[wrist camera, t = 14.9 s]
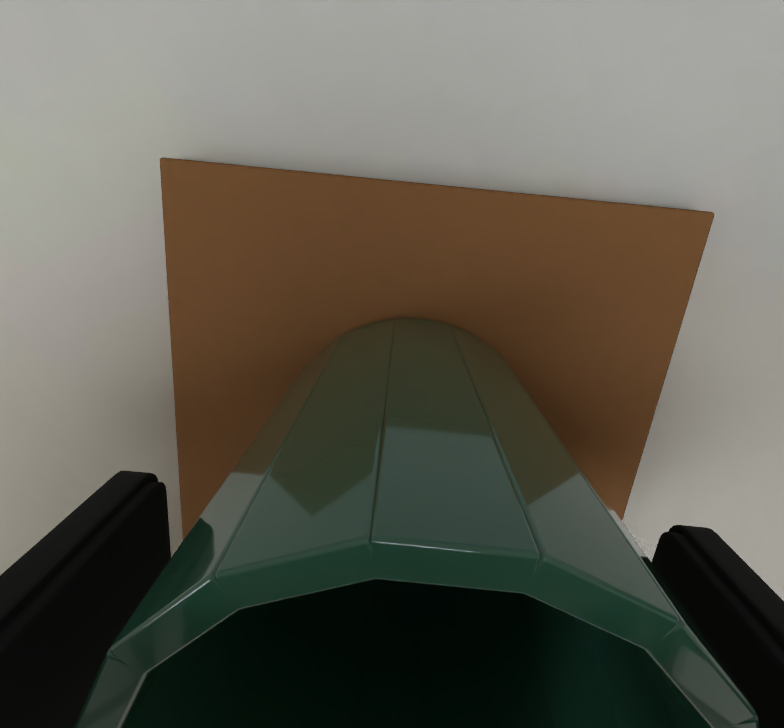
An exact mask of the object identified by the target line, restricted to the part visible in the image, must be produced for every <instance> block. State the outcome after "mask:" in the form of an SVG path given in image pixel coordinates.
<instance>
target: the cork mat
mask: <svg viewBox="0 0 784 728" xmlns="http://www.w3.org/2000/svg"><path fill="white" fill-rule="evenodd" d="M160 170H161V186H162V202H163V219H164V235H165V252H166V268H167V284H168V301H169V317H170V333H171V350H172V366H173V382H174V399H175V415H176V432H177V448H178V464H179V481H180V497H181V513H182V530H183V540H184V539H185V538H186V536H187V535H188V533H189V532H190V530H191V529H192V527H193V526H194V524H195V523H196V522H197V520H198V519H199V517H200V516H201V514H202V513H203V511H204V510H205V509H206V507H207V506H208V504H209V503H210V501H211V500H212V498H213V497H214V496H215V494H216V493H217V491H218V490H219V488H220V487H221V485H222V484H223V483H224V481H225V480H226V478H227V477H228V475H229V474H230V472H231V471H232V469H233V468H234V467H235V465H236V464H237V462H238V461H239V459H240V458H241V456H242V455H243V454H244V452H245V451H246V449H247V448H248V446H249V445H250V443H251V442H252V441H253V439H254V438H255V436H256V435H257V433H258V432H259V430H260V429H261V428H262V426H263V425H264V423H265V422H266V420H267V419H268V417H269V416H270V415H271V413H272V412H273V410H274V409H275V407H276V406H277V404H278V403H279V401H280V400H281V399H282V397H283V396H284V394H285V393H286V391H287V390H288V388H289V387H290V386H291V384H292V383H293V381H294V380H295V378H296V377H297V375H298V374H299V373H300V371H301V370H302V369H303V367H304V366H306V365H307V364H308V363H309V362H310V361H311V360H312V359H313V358H314V357H315V356H316V355H317V354H318V353H319V352H320V351H321V350H322V349H323V348H324V347H325V346H327V345H328V344H330V343H331V342H332V341H334V340H335V339H337V338H338V337H340V336H341V335H343V334H345V333H347V332H349V331H351V330H353V329H355V328H358V327H361V326H363V325H366V324H369V323H373V322H377V321H381V320H386V319H395V318H423V319H429V320H435V321H440V322H444V323H447V324H450V325H454V326H457V327H459V328H461V329H463V330H465V331H468V332H470V333H472V334H473V335H475V336H477V337H478V338H480V339H481V340H483V341H485V342H486V343H487V344H489V345H490V346H491V347H492V348H493V349H495V350H497V352H499V353H500V354H501V355H502V357H503V358H504V359H505V361H506V362H507V363H508V364H509V365H510V366H511V368H512V369H513V371H514V372H515V373H516V375H517V376H518V377H519V378H520V380H521V381H522V382H523V383H524V385H525V386H526V387H527V389H528V390H529V391H530V393H531V394H532V395H533V397H534V398H535V400H536V401H537V403H538V404H539V405H540V407H541V408H542V410H543V411H544V412H545V414H546V415H547V417H548V418H549V419H550V421H551V422H552V424H553V425H554V426H555V428H556V429H557V431H558V432H559V433H560V435H561V436H562V438H563V439H564V441H565V442H566V443H567V445H568V446H569V448H570V449H571V450H572V452H573V453H574V455H575V456H576V457H577V459H578V460H579V462H580V463H581V464H582V466H583V467H584V469H585V470H586V472H587V473H588V474H589V476H590V477H591V479H592V480H593V481H594V483H595V484H596V486H597V487H598V488H599V490H600V491H601V493H602V494H603V495H604V497H605V498H606V500H607V501H608V502H609V504H610V505H611V507H612V508H613V510H614V511H615V512H616V514H617V515H618V517H619V518H620V519H621V521H622V519H623V516H624V512H625V509H626V506H627V503H628V499H629V496H630V493H631V489H632V486H633V483H634V479H635V476H636V473H637V469H638V466H639V463H640V459H641V456H642V453H643V449H644V446H645V443H646V440H647V436H648V433H649V430H650V426H651V423H652V420H653V416H654V413H655V410H656V406H657V403H658V400H659V396H660V393H661V390H662V387H663V383H664V380H665V377H666V373H667V370H668V367H669V363H670V360H671V357H672V353H673V350H674V347H675V343H676V340H677V337H678V334H679V330H680V327H681V324H682V320H683V317H684V314H685V310H686V307H687V304H688V300H689V297H690V294H691V290H692V287H693V284H694V280H695V277H696V274H697V271H698V267H699V264H700V261H701V257H702V254H703V251H704V247H705V244H706V241H707V237H708V234H709V231H710V227H711V224H712V221H713V218H714V213H712V212H705V211H695V210H685V209H675V208H665V207H655V206H645V205H635V204H625V203H615V202H605V201H595V200H585V199H574V198H564V197H554V196H544V195H534V194H524V193H514V192H504V191H494V190H484V189H474V188H464V187H454V186H444V185H433V184H423V183H413V182H403V181H393V180H383V179H373V178H363V177H353V176H343V175H333V174H323V173H313V172H303V171H293V170H282V169H272V168H262V167H252V166H242V165H232V164H222V163H212V162H202V161H192V160H182V159H172V158H160Z"/></svg>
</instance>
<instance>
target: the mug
mask: <svg viewBox="0 0 784 728" xmlns="http://www.w3.org/2000/svg"><path fill="white" fill-rule="evenodd" d="M74 728H759V719H758V716H757V714H756V712H755V708H754V707H753V705H752V704H751V702H750V701H749V700H748V698H747V697H746V695H745V694H744V693H743V691H742V690H741V688H740V687H739V686H738V684H737V683H736V681H735V680H734V679H733V677H732V676H731V674H730V673H729V671H728V670H727V669H726V667H725V666H724V664H723V663H722V662H721V660H720V659H719V657H718V656H717V655H716V653H715V652H714V650H713V649H712V648H711V646H710V645H709V643H708V642H707V641H706V639H705V638H704V636H703V635H702V633H701V632H700V631H699V629H698V628H697V626H696V625H695V624H694V622H693V621H692V619H691V618H690V617H689V615H688V614H687V612H686V611H685V610H684V608H683V607H682V605H681V604H680V602H679V601H678V600H677V598H676V597H675V595H674V594H673V593H672V591H671V590H670V588H669V587H668V586H667V584H666V583H665V581H664V580H663V579H662V577H661V576H660V574H659V573H658V572H657V570H656V569H655V567H654V566H653V564H652V563H651V562H650V560H649V559H648V557H647V556H646V555H645V553H644V552H643V550H642V549H641V548H640V546H639V545H638V543H637V542H636V541H635V539H634V538H633V536H632V535H631V533H630V532H629V531H628V529H627V528H626V526H625V525H624V524H623V522H622V521H621V519H620V518H619V517H618V515H617V514H616V512H615V511H614V510H613V508H612V507H611V505H610V504H609V502H608V501H607V500H606V498H605V497H604V495H603V494H602V493H601V491H600V490H599V488H598V487H597V486H596V484H595V483H594V481H593V480H592V479H591V477H590V476H589V474H588V473H587V472H586V470H585V469H584V467H583V466H582V464H581V463H580V462H579V460H578V459H577V457H576V456H575V455H574V453H573V452H572V450H571V449H570V448H569V446H568V445H567V443H566V442H565V441H564V439H563V438H562V436H561V435H560V433H559V432H558V431H557V429H556V428H555V426H554V425H553V424H552V422H551V421H550V419H549V418H548V417H547V415H546V414H545V412H544V411H543V410H542V408H541V407H540V405H539V404H538V403H537V401H536V400H535V398H534V397H533V395H532V394H531V393H530V391H529V390H528V389H527V387H526V386H525V385H524V383H523V382H522V381H521V380H520V378H519V377H518V376H517V375H516V373H515V372H514V371H513V369H512V368H511V366H510V365H509V364H508V363H507V362H506V361H505V359H504V358H503V357H502V355H501V354H500V353H499V352H497V350H495V349H493V348H492V347H491V346H490V345H489V344H487V343H486V342H485V341H483V340H481V339H480V338H478V337H477V336H475V335H473V334H472V333H470V332H468V331H465V330H463V329H461V328H459V327H457V326H454V325H450V324H447V323H444V322H440V321H435V320H429V319H423V318H395V319H386V320H381V321H377V322H373V323H369V324H366V325H363V326H361V327H358V328H355V329H353V330H351V331H349V332H347V333H345V334H343V335H341V336H340V337H338V338H337V339H335V340H334V341H332V342H331V343H330V344H328V345H327V346H325V347H324V348H323V349H322V350H321V351H320V352H319V353H318V354H317V355H316V356H315V357H314V358H313V359H312V360H311V361H310V362H309V363H308V364H307V365H306V366H304V367H303V369H302V370H301V371H300V373H299V374H298V375H297V377H296V378H295V380H294V381H293V383H292V384H291V386H290V387H289V388H288V390H287V391H286V393H285V394H284V396H283V397H282V399H281V400H280V401H279V403H278V404H277V406H276V407H275V409H274V410H273V412H272V413H271V415H270V416H269V417H268V419H267V420H266V422H265V423H264V425H263V426H262V428H261V429H260V430H259V432H258V433H257V435H256V436H255V438H254V439H253V441H252V442H251V443H250V445H249V446H248V448H247V449H246V451H245V452H244V454H243V455H242V456H241V458H240V459H239V461H238V462H237V464H236V465H235V467H234V468H233V469H232V471H231V472H230V474H229V475H228V477H227V478H226V480H225V481H224V483H223V484H222V485H221V487H220V488H219V490H218V491H217V493H216V494H215V496H214V497H213V498H212V500H211V501H210V503H209V504H208V506H207V507H206V509H205V510H204V511H203V513H202V514H201V516H200V517H199V519H198V520H197V522H196V523H195V524H194V526H193V527H192V529H191V530H190V532H189V533H188V535H187V536H186V538H185V539H184V540H183V542H182V543H181V545H180V546H179V548H178V549H177V551H176V552H175V553H174V555H173V556H172V558H171V559H170V561H169V562H168V564H167V565H166V566H165V568H164V569H163V571H162V572H161V574H160V575H159V577H158V578H157V579H156V581H155V582H154V584H153V585H152V587H151V588H150V590H149V591H148V593H147V594H146V595H145V597H144V598H143V600H142V601H141V603H140V604H139V606H138V607H137V608H136V610H135V611H134V613H133V614H132V616H131V617H130V619H129V620H128V621H127V623H126V624H125V626H124V627H123V629H122V630H121V632H120V633H119V634H118V636H117V637H116V639H115V640H114V642H113V643H112V645H111V646H110V647H109V649H108V650H107V652H106V655H105V657H104V659H103V661H102V664H101V666H100V668H99V671H98V673H97V675H96V677H95V680H94V682H93V684H92V687H91V689H90V691H89V693H88V696H87V698H86V700H85V703H84V705H83V707H82V709H81V712H80V714H79V716H78V719H77V721H76V723H75V725H74Z"/></svg>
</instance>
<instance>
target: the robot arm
mask: <svg viewBox="0 0 784 728" xmlns="http://www.w3.org/2000/svg"><path fill="white" fill-rule="evenodd" d="M170 559H171V551H170V536H169V522H168V508H167V494H166V486H165V485H164V483H162V482H158V479H157V477H156V475H154V474H153V473H143V472H132V471H120V472H118V473H117V474H115V475H114V476H113V477H112V478H111V479H110V480H108V481H107V482H106V483H105V484H104V485H103V486H102V487H100V488H99V489H98V490H97V491H96V492H95V493H94V494H92V495H91V496H90V497H89V498H88V499H87V500H86V501H85V502H83V503H82V504H81V505H80V506H79V507H78V508H77V509H75V510H74V511H73V512H72V513H71V514H70V515H69V516H67V517H66V518H65V519H64V520H63V521H62V522H61V523H60V524H58V525H57V526H56V527H55V528H54V529H53V530H52V531H50V532H49V533H48V534H47V535H46V536H45V537H44V538H43V539H41V540H40V541H39V542H38V543H37V544H36V545H35V546H33V547H32V548H31V549H30V550H29V551H28V552H27V553H25V554H24V555H23V556H22V557H21V558H20V559H19V560H18V561H16V562H15V563H14V564H13V565H12V566H11V567H10V568H8V569H7V570H6V571H5V572H4V573H3V574H2V575H1V576H0V728H74V725H75V723H76V721H77V719H78V716H79V714H80V712H81V709H82V707H83V705H84V703H85V700H86V698H87V696H88V693H89V691H90V689H91V687H92V684H93V682H94V680H95V677H96V675H97V673H98V671H99V668H100V666H101V664H102V661H103V659H104V657H105V655H106V652H107V650H108V649H109V647H110V646H111V645H112V643H113V642H114V640H115V639H116V637H117V636H118V634H119V633H120V632H121V630H122V629H123V627H124V626H125V624H126V623H127V621H128V620H129V619H130V617H131V616H132V614H133V613H134V611H135V610H136V608H137V607H138V606H139V604H140V603H141V601H142V600H143V598H144V597H145V595H146V594H147V593H148V591H149V590H150V588H151V587H152V585H153V584H154V582H155V581H156V579H157V578H158V577H159V575H160V574H161V572H162V571H163V569H164V568H165V566H166V565H167V564H168V562H169V561H170ZM652 564H653V566H654V567H655V569H656V570H657V572H658V573H659V574H660V576H661V577H662V579H663V580H664V581H665V583H666V584H667V586H668V587H669V588H670V590H671V591H672V593H673V594H674V595H675V597H676V598H677V600H678V601H679V602H680V604H681V605H682V607H683V608H684V610H685V611H686V612H687V614H688V615H689V617H690V618H691V619H692V621H693V622H694V624H695V625H696V626H697V628H698V629H699V631H700V632H701V633H702V635H703V636H704V638H705V639H706V641H707V642H708V643H709V645H710V646H711V648H712V649H713V650H714V652H715V653H716V655H717V656H718V657H719V659H720V660H721V662H722V663H723V664H724V666H725V667H726V669H727V670H728V671H729V673H730V674H731V676H732V677H733V679H734V680H735V681H736V683H737V684H738V686H739V687H740V688H741V690H742V691H743V693H744V694H745V695H746V697H747V698H748V700H749V701H750V702H751V704H752V705H753V707H754V708H755V712H756V714H757V716H758V719H759V728H784V601H783V600H782V599H781V598H780V597H779V596H778V595H777V594H776V593H775V592H774V591H773V590H772V589H771V588H770V587H769V586H768V585H767V584H766V583H765V582H764V581H763V580H762V579H761V578H760V577H759V576H758V575H757V574H756V573H755V572H754V571H753V570H752V569H751V568H750V567H749V566H748V565H747V564H746V563H745V562H744V561H743V560H742V559H741V558H740V557H739V556H738V555H737V554H736V553H735V552H734V551H733V550H732V549H731V548H730V547H729V546H728V545H727V544H726V543H725V542H724V541H723V540H722V539H721V538H720V537H719V535H718V534H717V533H715V532H714V531H713V530H711V529H709V528H704V527H693V526H683V525H675V526H673V527H672V528H670V530H669V532H665V533H663V534H662V535H661V537H660V539H659V542H658V545H657V548H656V551H655V554H654V557H653V560H652Z"/></svg>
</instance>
